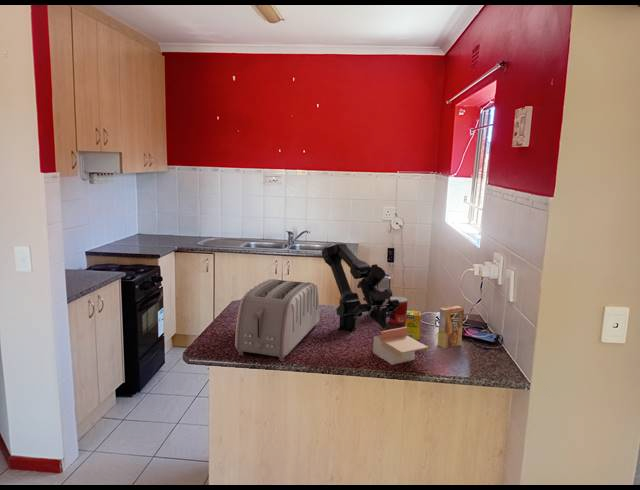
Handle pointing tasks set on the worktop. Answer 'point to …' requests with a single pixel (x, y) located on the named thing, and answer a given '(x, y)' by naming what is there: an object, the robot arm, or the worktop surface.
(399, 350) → the lid
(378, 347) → the mailer tray
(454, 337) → the candy box
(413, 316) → the supplement box
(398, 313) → the canned food
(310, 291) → the toaster
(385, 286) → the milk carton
